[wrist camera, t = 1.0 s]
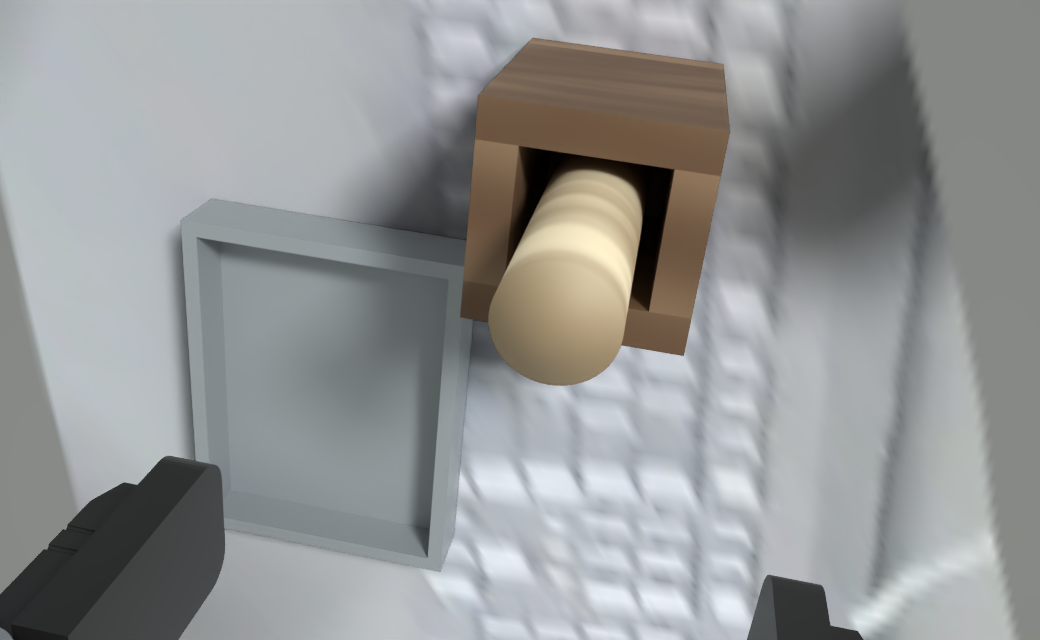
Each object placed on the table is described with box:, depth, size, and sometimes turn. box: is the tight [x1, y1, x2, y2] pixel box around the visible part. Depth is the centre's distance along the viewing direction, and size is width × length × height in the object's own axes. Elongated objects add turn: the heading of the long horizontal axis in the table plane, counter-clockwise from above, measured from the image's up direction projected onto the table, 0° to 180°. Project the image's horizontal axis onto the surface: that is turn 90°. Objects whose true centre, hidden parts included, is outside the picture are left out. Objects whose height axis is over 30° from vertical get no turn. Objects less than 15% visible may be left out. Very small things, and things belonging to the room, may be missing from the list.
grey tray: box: [181, 199, 473, 572], centre depth 39 cm, size 14×11×2 cm
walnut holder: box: [460, 38, 730, 356], centre depth 30 cm, size 7×7×9 cm
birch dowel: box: [488, 153, 652, 386], centre depth 27 cm, size 3×3×14 cm
